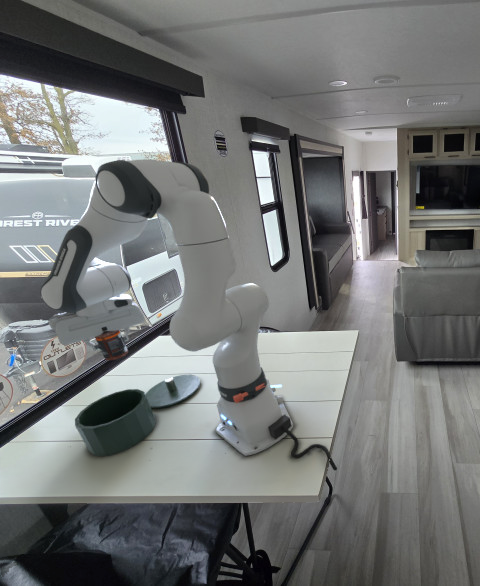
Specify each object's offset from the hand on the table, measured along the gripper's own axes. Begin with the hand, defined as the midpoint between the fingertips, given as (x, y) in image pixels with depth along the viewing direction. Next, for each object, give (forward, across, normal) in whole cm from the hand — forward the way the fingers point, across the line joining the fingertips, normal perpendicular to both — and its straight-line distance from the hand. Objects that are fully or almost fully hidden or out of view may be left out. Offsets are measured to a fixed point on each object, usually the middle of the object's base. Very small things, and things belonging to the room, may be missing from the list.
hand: (112, 344), depth 98 cm
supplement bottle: (+4, 0, 0) cm, 4 cm away
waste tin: (+18, -4, -22) cm, 29 cm away
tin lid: (+17, +10, -12) cm, 23 cm away
